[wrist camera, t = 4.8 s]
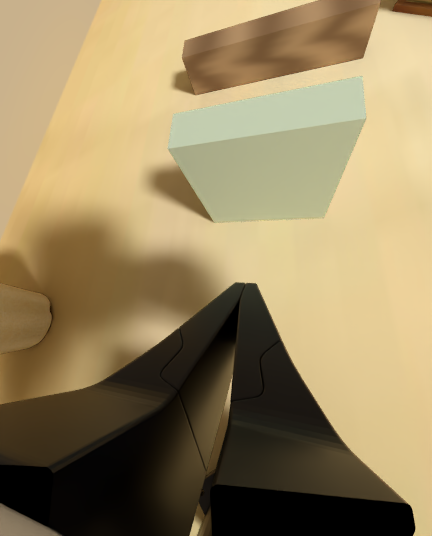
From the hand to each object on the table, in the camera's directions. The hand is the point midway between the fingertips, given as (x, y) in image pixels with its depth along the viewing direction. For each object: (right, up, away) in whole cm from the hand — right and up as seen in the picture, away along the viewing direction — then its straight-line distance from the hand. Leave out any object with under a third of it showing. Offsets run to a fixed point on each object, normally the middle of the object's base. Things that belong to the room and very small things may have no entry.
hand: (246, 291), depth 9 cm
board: (+5, +23, +16) cm, 29 cm away
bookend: (+4, +11, +13) cm, 18 cm away
